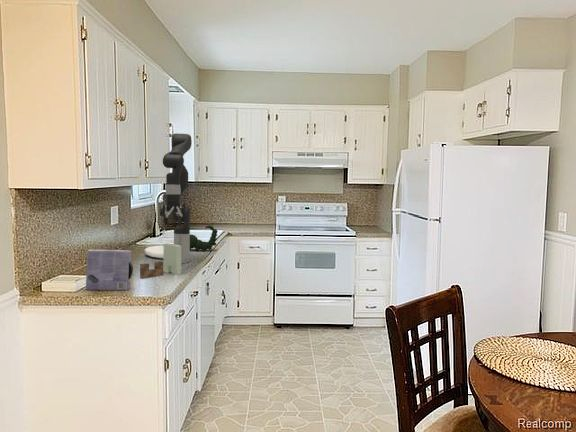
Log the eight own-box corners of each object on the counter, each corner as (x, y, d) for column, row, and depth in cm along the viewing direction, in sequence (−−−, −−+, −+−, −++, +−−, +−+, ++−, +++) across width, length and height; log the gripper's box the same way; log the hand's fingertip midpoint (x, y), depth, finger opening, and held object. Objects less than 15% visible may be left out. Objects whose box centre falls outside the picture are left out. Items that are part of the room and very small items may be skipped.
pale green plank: (163, 271, 243) (163, 243, 242) (168, 270, 246) (168, 243, 244) (176, 275, 236) (176, 246, 235) (181, 274, 239) (181, 245, 237)
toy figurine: (215, 252, 319) (179, 248, 317) (218, 225, 318) (182, 221, 315) (214, 254, 310) (177, 250, 308) (217, 227, 308) (180, 222, 306)
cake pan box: (133, 287, 208) (133, 249, 206) (131, 290, 203) (131, 251, 201) (88, 287, 205) (88, 249, 203) (85, 290, 200) (85, 250, 198)
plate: (198, 249, 293) (166, 254, 271) (197, 258, 294) (165, 265, 272) (168, 240, 308) (135, 244, 286) (168, 249, 309) (135, 254, 287)
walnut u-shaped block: (142, 278, 226) (142, 264, 225) (140, 277, 227) (140, 264, 227) (163, 275, 235) (163, 261, 235) (160, 274, 237) (160, 261, 236)
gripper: (179, 192, 245) (179, 222, 246) (157, 193, 234) (156, 224, 235) (188, 193, 240) (188, 224, 242) (166, 193, 229) (165, 225, 231)
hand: (172, 224), depth 238 cm, fingers open, 8 cm apart
